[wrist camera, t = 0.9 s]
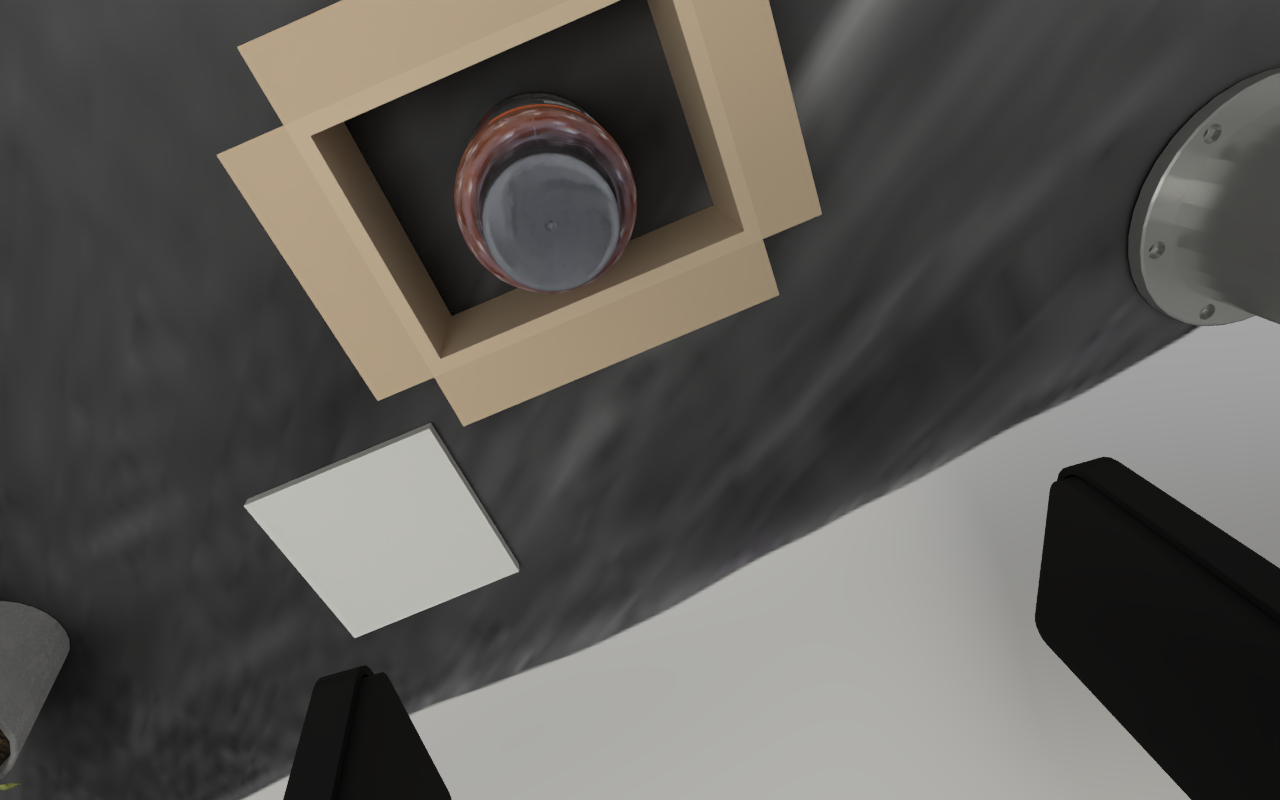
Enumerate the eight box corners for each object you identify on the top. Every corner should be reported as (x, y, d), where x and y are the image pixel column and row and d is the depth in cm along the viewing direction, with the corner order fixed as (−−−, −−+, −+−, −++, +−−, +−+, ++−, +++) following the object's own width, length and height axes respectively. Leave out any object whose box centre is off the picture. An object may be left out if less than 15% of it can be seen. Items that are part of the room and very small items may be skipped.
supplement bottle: (499, 253, 31) (488, 350, 21) (445, 116, 29) (403, 154, 19) (626, 211, 31) (675, 289, 21) (584, 70, 29) (618, 84, 19)
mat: (430, 422, 35) (429, 428, 34) (519, 564, 39) (519, 571, 39) (247, 498, 35) (243, 505, 34) (357, 630, 40) (354, 638, 39)
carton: (691, -135, 26) (725, -171, 22) (794, 240, 33) (836, 271, 29) (225, 73, 27) (166, 78, 22) (424, 396, 34) (409, 449, 29)
